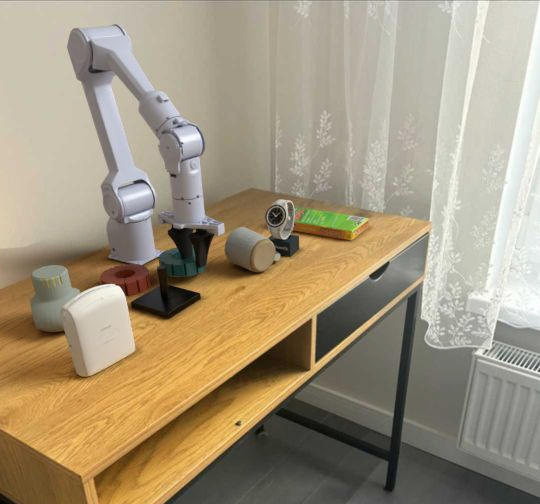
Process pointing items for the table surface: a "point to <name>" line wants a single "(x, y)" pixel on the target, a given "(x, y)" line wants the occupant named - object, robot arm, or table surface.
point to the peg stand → (165, 298)
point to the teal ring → (179, 264)
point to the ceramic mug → (250, 250)
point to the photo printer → (97, 328)
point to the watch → (282, 227)
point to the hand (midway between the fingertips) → (194, 263)
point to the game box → (329, 223)
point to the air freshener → (50, 296)
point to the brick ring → (127, 278)
